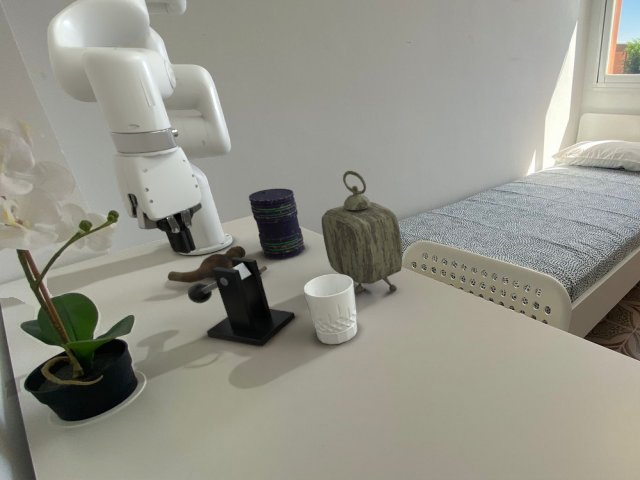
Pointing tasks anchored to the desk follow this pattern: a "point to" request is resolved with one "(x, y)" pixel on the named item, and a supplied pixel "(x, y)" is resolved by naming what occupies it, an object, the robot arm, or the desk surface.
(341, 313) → the white cup
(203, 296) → the tap lever
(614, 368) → the desk surface
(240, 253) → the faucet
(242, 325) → the bracket
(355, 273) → the tabletop clock
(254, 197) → the dark blue cylinder
